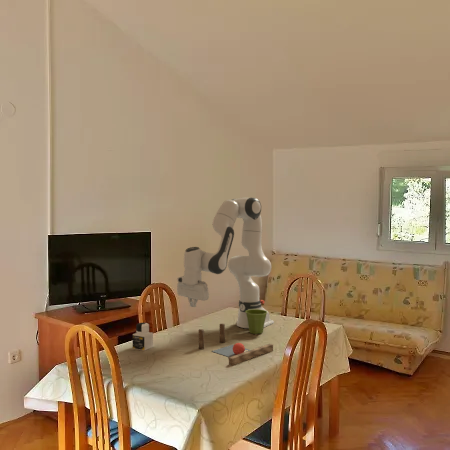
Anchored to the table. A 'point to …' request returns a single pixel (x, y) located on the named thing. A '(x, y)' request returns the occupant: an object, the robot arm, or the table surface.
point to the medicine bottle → (142, 337)
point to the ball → (238, 348)
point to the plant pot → (256, 320)
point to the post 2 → (222, 333)
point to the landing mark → (226, 351)
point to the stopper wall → (250, 354)
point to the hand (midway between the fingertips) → (192, 306)
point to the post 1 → (201, 339)
